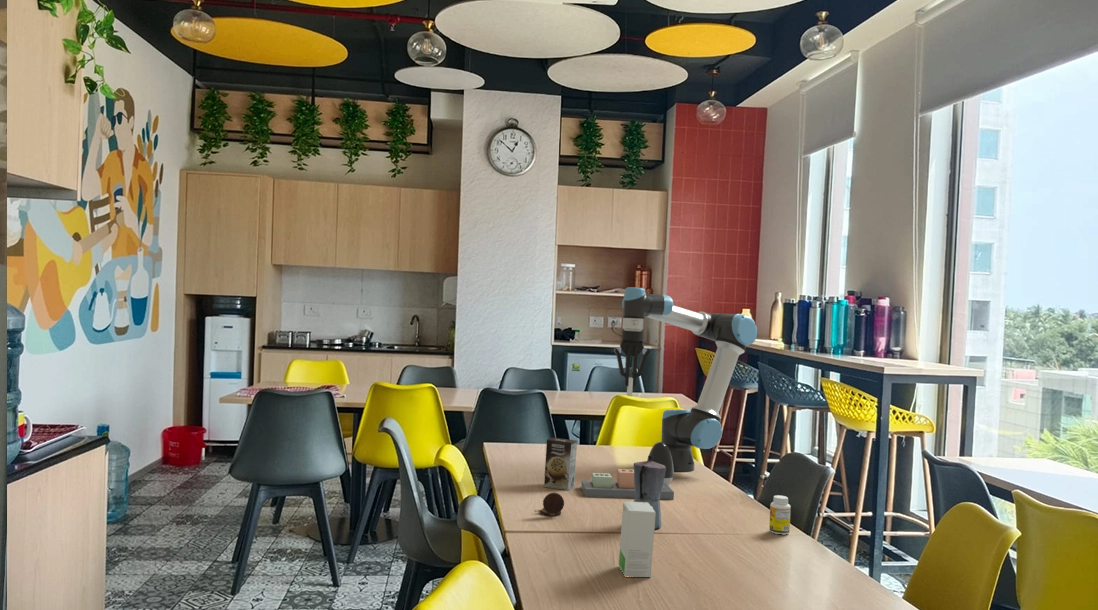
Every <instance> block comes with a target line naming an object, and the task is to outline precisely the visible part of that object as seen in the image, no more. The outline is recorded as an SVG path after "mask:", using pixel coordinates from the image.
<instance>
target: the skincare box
mask: <svg viewBox="0 0 1098 610" xmlns="http://www.w3.org/2000/svg"><path fill="white" fill-rule="evenodd" d="M621 513H622V515H621V525H620V526H621V529H620V540H619V541H620V542H619V554H618V555H619V556H618V567H619V570H620V571H621V570H622V571H621V573H622V572H623V573H622V575H623V574H624V575H623V577H624V576H629V577H630V576H631V577H632V576H633V577H651V578H652V568H653V567H652V564H653V562H652V561H653V551H654V539H655V529H654V528H655V516H656V512H655V511H654V510H653V507H652V506H650V504H649V503H648V502H634V501H623V502H622V512H621Z"/></svg>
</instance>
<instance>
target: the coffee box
mask: <svg viewBox="0 0 1098 610" xmlns="http://www.w3.org/2000/svg"><path fill="white" fill-rule="evenodd" d="M577 446H578V441H577V440H575V439H567V438H566V439H565V438H559V437H551V438H548V439H546V445H545V447H546V449H545V465H544V482H543V487H545V488H549V489H550V488H551V489H558V490H562V489H564V490H563V491H570V490H572V489H573V487H574V488H575V481H576V480H575V479H576V465H577V464H576V462H577V448H578V447H577ZM571 488H572V489H571ZM569 489H570V490H569Z"/></svg>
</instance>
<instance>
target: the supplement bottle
mask: <svg viewBox="0 0 1098 610" xmlns="http://www.w3.org/2000/svg"><path fill="white" fill-rule="evenodd" d="M790 525H791V504H789V498H788V496H785V495H779V494H777V495H773V500H772V502H770V507H769V526H768V527H769V529H768V530H769V533H771V532H772V534H773V533H775V534H774V535H777V534H782V535H781V536H787V535H789V534H790V528H791V526H790ZM786 534H787V535H786Z"/></svg>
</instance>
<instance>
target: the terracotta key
mask: <svg viewBox="0 0 1098 610" xmlns="http://www.w3.org/2000/svg"><path fill="white" fill-rule="evenodd" d="M616 471H617V472H616V481H617V485H618V487H619V488H635V485H634V468H630V469H629V468H627V469H626V468H617V469H616Z"/></svg>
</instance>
